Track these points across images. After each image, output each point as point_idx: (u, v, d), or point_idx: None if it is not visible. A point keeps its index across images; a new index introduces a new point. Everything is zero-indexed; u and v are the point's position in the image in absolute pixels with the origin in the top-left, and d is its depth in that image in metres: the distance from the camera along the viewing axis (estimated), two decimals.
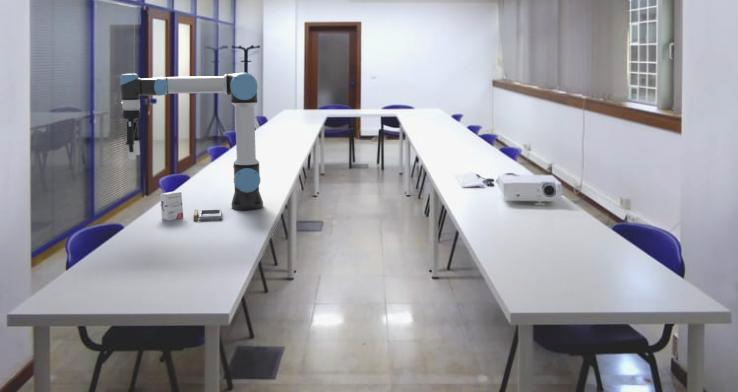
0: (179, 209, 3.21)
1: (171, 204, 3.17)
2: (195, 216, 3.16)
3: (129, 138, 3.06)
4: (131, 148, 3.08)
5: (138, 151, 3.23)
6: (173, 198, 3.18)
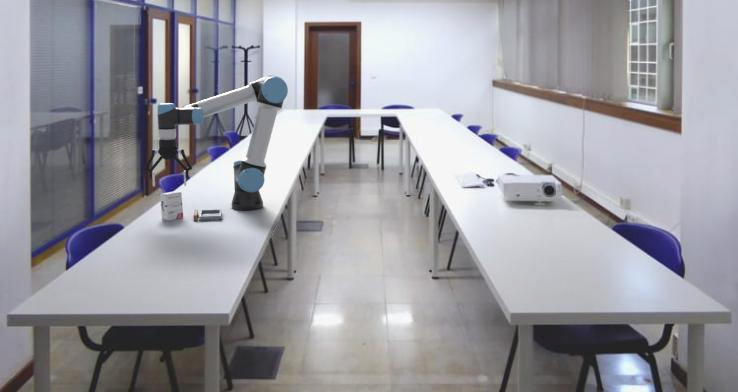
0: (179, 209, 3.21)
1: (171, 204, 3.17)
2: (195, 216, 3.16)
3: None
4: None
5: (184, 182, 3.19)
6: (173, 198, 3.18)
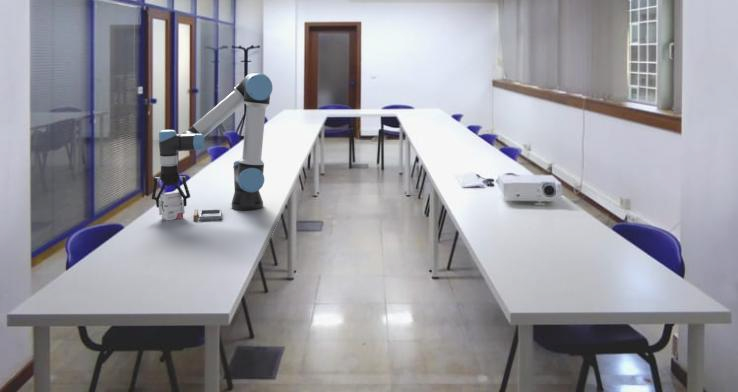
0: (179, 209, 3.21)
1: (171, 204, 3.17)
2: (195, 216, 3.16)
3: None
4: (156, 203, 3.19)
5: (182, 210, 3.21)
6: (173, 198, 3.18)
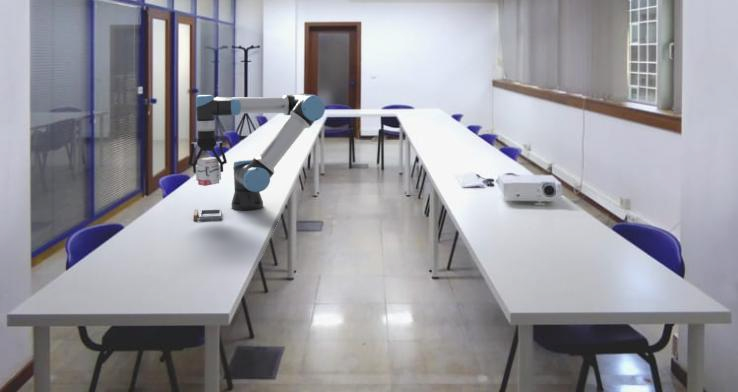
0: None
1: None
2: (195, 216, 3.16)
3: (225, 158, 3.20)
4: None
5: None
6: None
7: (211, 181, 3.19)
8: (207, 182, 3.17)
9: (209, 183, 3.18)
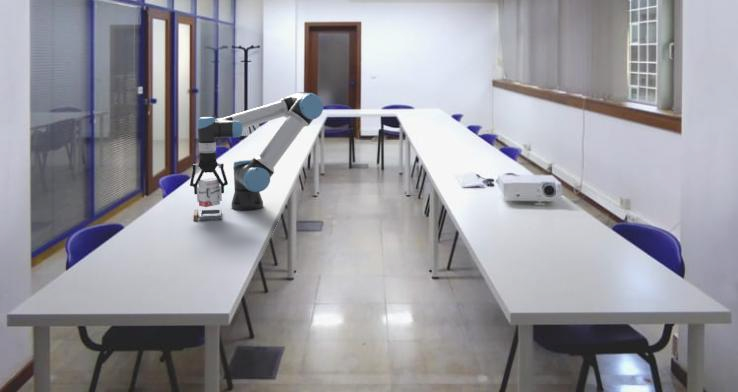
0: None
1: None
2: (195, 216, 3.16)
3: (226, 179, 3.22)
4: (223, 189, 3.23)
5: None
6: None
7: (212, 202, 3.21)
8: (208, 203, 3.19)
9: (210, 204, 3.20)
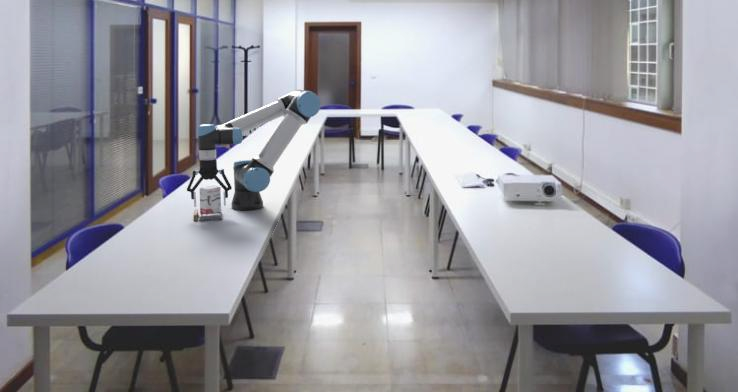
0: None
1: None
2: (195, 216, 3.16)
3: (229, 184, 3.22)
4: (227, 194, 3.23)
5: None
6: None
7: (213, 210, 3.21)
8: (209, 211, 3.19)
9: (211, 212, 3.21)
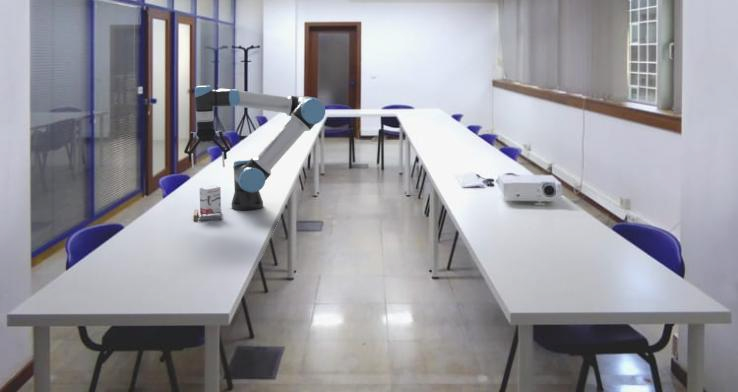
0: None
1: None
2: (195, 216, 3.16)
3: None
4: None
5: None
6: None
7: (213, 210, 3.21)
8: (209, 211, 3.19)
9: (211, 212, 3.21)
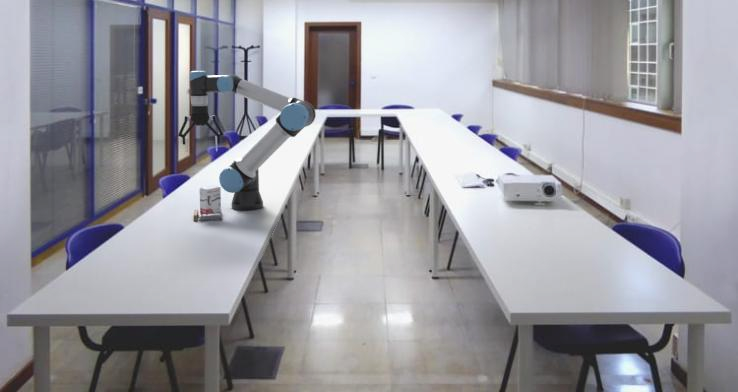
0: None
1: None
2: (195, 216, 3.16)
3: (221, 130, 3.29)
4: (219, 139, 3.30)
5: (187, 148, 3.28)
6: None
7: (213, 210, 3.21)
8: (209, 211, 3.19)
9: (211, 212, 3.21)
